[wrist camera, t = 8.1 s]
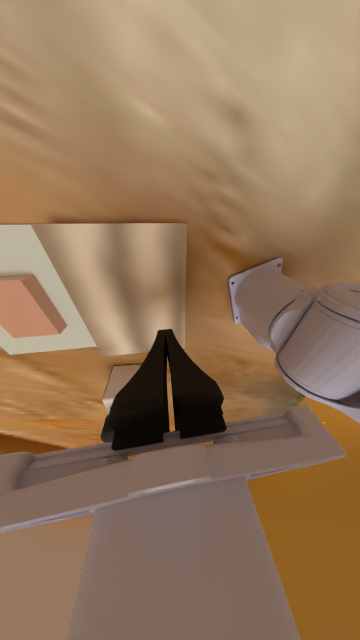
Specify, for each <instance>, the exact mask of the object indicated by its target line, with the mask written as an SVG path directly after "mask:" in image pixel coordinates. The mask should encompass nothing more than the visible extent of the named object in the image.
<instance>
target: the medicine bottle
mask: <svg viewBox="0 0 360 640" xmlns="http://www.w3.org/2000/svg"><path fill="white" fill-rule="evenodd" d="M141 365H142V364H139V365H122V366H113V368H112V371H111V374H110V377H109V380H108V383H107V386H106V390H105V393H104V396H103V399H102V401H103V403H104V405H105V407H106V408H107V410H108V412H107V416H106V419H105V423H104V427H103V430H102V434H101V439H102V441H103V442H105V443H108V442H112V441H113V437H114V432H115V431H114V430H113V429H112V428H111V427H110V426H109V425H108V423H107V420H108V416H109V412H110V408H111V405H112V403H113V400H114V398H115V396H116V394H117V393H118V392H119V391H120V390H121V389H122V388H123V387H124V386H125V385H126V384H127V383H128V381H129V380H130V379H131V378H132V377H133V375H134V374H135V373H136V372H137V370H138V369H139V368H140V366H141Z"/></svg>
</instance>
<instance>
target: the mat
mask: <svg viewBox="0 0 360 640" xmlns="http://www.w3.org/2000/svg"><path fill="white" fill-rule="evenodd" d="M15 275H35V277H36V278H37V280H38V281H39V283H40V284H41V286H42V287H43V289H44V290H45V292H46V294H47V295H48V297H49V298H50V300H51V301H52V303H53V304H54V306H55V307H56V309H57V310H58V312H59V313H60V315H61V317H62V318H63V320H64V321H65V323H66V324H67V327H66V328H65V329H64V330H63V331H62V332H61V334H57V335H46V336H34V337H23V338H13V337H12V336H11V335H10V334H9V333H8V332H7V331H6V330H5V329H4V328H3V327H2V326H1V325H0V346H1V347H2V348H3V349H4V350H5V351H6V352H8V353H9V354H10V355H12V354H23V353H33V352H44V351H54V350H65V349H75V348H85V347H96V346H97V345H96V344H95V342H94V340H93V338H92V336H91V334H90V333H89V331H88V329H87V327H86V325H85V323H84V322H83V320H82V318H81V316H80V314H79V312H78V311H77V309H76V307H75V305H74V303H73V301H72V300H71V298H70V296H69V294H68V292H67V290H66V289H65V287H64V285H63V283H62V281H61V279H60V277H59V276H58V274H57V272H56V270H55V268H54V266H53V265H52V263H51V261H50V259H49V257H48V255H47V254H46V252H45V250H44V248H43V246H42V244H41V243H40V241H39V239H38V237H37V235H36V233H35V232H34V230H33V228H32V226H31V225H0V276H15Z"/></svg>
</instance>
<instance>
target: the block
mask: <svg viewBox="0 0 360 640" xmlns="http://www.w3.org/2000/svg"><path fill="white" fill-rule="evenodd" d="M0 325H1V326H2V327H3V328H4V329H5V330H6V331H7V332H8V333H9V334H10V335H11V336H12V337H13V338H23V337H34V336H46V335H57V334H61V332H62V331H63V330H64V329H65V328H66V327H67V324H66V323H65V321H64V320H63V318H62V317H61V315H60V313H59V312H58V310H57V309H56V307H55V306H54V304H53V303H52V301H51V300H50V298H49V297H48V295H47V294H46V292H45V290H44V289H43V287H42V286H41V284H40V283H39V281H38V280H37V278H36V277H35V275H15V276H0Z"/></svg>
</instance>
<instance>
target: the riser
mask: <svg viewBox="0 0 360 640" xmlns="http://www.w3.org/2000/svg"><path fill="white" fill-rule="evenodd" d="M31 226H32V228H33V230H34V232H35V233H36V235H37V237H38V239H39V241H40V243H41V244H42V246H43V248H44V250H45V252H46V254H47V255H48V257H49V259H50V261H51V263H52V265H53V266H54V268H55V270H56V272H57V274H58V276H59V277H60V279H61V281H62V283H63V285H64V287H65V289H66V290H67V292H68V294H69V296H70V298H71V300H72V301H73V303H74V305H75V307H76V309H77V311H78V312H79V314H80V316H81V318H82V320H83V322H84V323H85V325H86V327H87V329H88V331H89V333H90V334H91V336H92V338H93V340H94V342H95V344H96V345H97V347H98V349H99V351H100V353H101V355H102V356H103V357H105V356H114V355H124V354H133V353H143V352H149V351H150V350H151V348H152V345H153V343H154V341H155V338H156V335H157V332H158V330H163V329H172V330H173V332H174V335H175V337H176V339H177V341H178V342H179V344H180V345H181V347H182V348H185V308H186V259H187V223H115V224H31Z"/></svg>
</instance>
